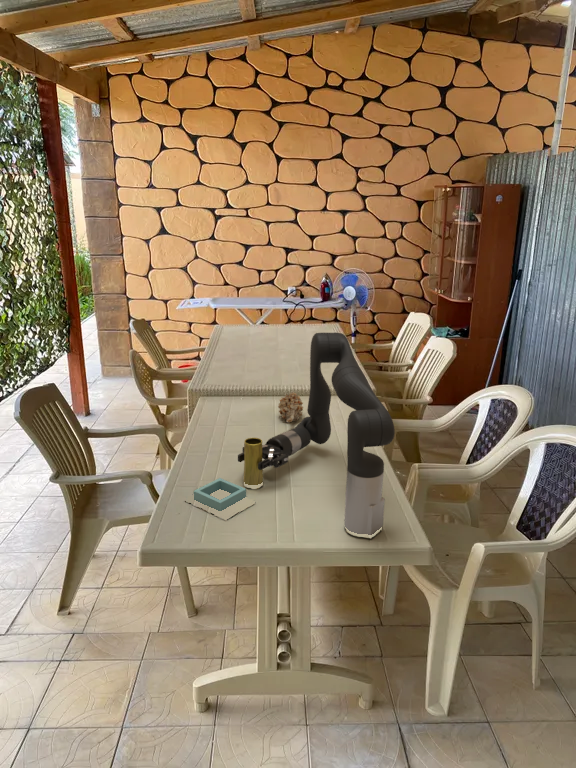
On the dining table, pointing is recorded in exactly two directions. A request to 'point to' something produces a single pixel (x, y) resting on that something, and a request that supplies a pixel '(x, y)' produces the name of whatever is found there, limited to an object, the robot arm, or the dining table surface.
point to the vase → (252, 461)
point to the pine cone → (291, 407)
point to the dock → (205, 491)
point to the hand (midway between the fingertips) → (248, 462)
